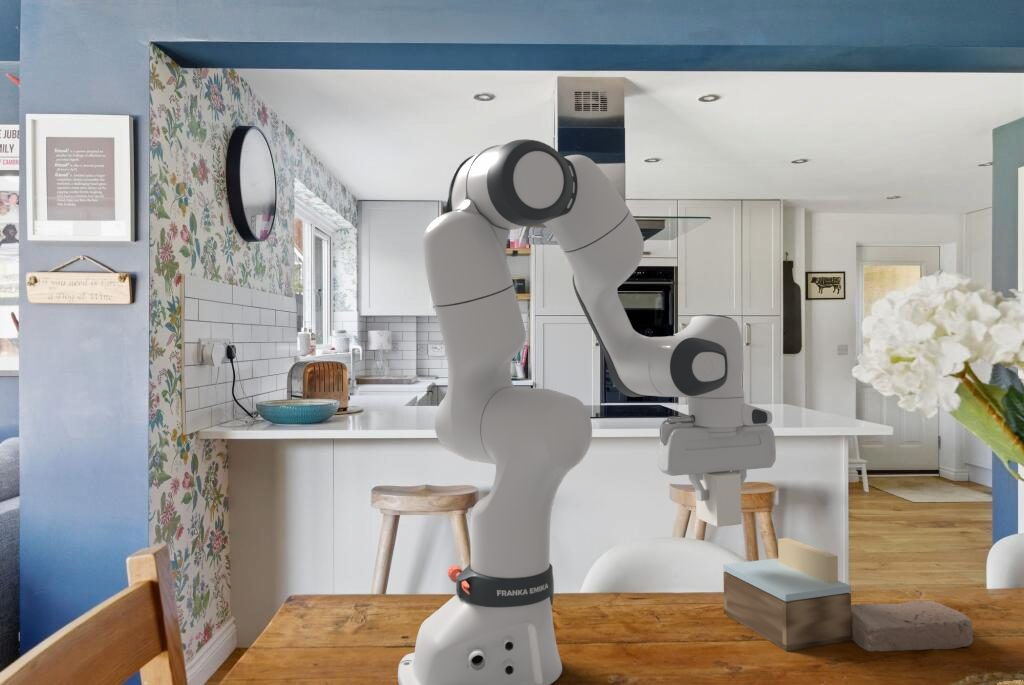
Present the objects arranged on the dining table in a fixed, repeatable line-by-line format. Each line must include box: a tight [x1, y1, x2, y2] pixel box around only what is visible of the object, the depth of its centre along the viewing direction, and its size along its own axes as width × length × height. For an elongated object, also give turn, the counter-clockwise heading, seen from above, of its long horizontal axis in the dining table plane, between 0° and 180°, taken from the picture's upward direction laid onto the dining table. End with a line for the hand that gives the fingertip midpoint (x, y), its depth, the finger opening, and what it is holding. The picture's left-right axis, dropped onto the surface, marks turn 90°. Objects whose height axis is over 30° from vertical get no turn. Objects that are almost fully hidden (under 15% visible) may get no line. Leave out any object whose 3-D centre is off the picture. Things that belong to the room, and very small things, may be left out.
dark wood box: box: [723, 571, 853, 652], centre depth 106 cm, size 12×15×7 cm
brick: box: [851, 600, 974, 652], centre depth 101 cm, size 17×8×5 cm, turn 94°
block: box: [695, 471, 743, 528], centre depth 108 cm, size 4×6×8 cm
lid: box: [723, 537, 852, 601], centre depth 106 cm, size 12×15×5 cm
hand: (718, 498), depth 108 cm, fingers closed on block, 4 cm apart
